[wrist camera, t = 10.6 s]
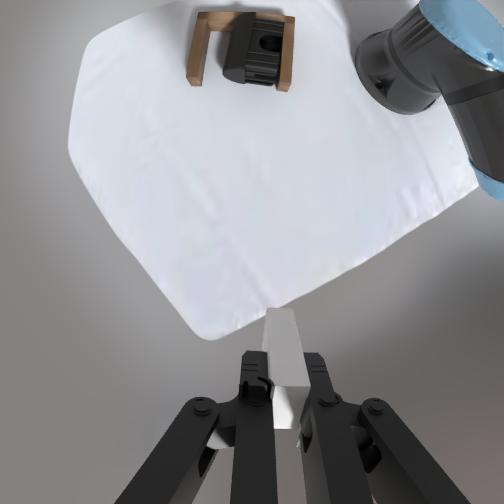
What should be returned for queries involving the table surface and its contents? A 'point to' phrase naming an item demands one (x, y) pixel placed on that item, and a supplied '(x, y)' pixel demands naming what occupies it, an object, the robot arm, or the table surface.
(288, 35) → the corral
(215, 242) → the table surface
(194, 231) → the table surface
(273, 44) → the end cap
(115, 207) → the table surface
